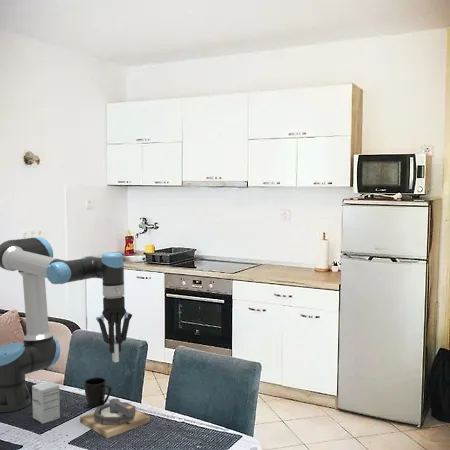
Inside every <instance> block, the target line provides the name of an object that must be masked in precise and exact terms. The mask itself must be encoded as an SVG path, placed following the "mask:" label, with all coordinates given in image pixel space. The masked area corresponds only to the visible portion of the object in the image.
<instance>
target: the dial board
mask: <svg viewBox="0 0 450 450" xmlns="http://www.w3.org/2000/svg"><path fill="white" fill-rule="evenodd" d="M121 402H122V403H124V404H126V405H128V406H132V407H133V416H131V417H127V416H125V415H122V416H119V417H104V416H102V415H101V411H102V410H103V409H105V408H107V407H110V402H108V403H105V404H104V405H102V406H99V407H96V409H95V411H94V412H90V413H88V414H85V415H81V416H80V417H79V423H81V424H83V425H84V426H86V427H88V428H89V429H91V430H92V431H95V432H96V433H97V434H99V435H100V436H103V437H105V438H106V439H110V438H112V437H114V436H117V435H120V434H122V433H125V432H128V431H130V430H132V429H135V428H138V427H140V426H143V425H146V424H148V423H150V422H151V416H150V415H148V414H145V413H144V412H143V411H140V410H137V408H136V406H135V405H133V404H131V403H129V402H126V401H125V402H123V401H121Z"/></svg>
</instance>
